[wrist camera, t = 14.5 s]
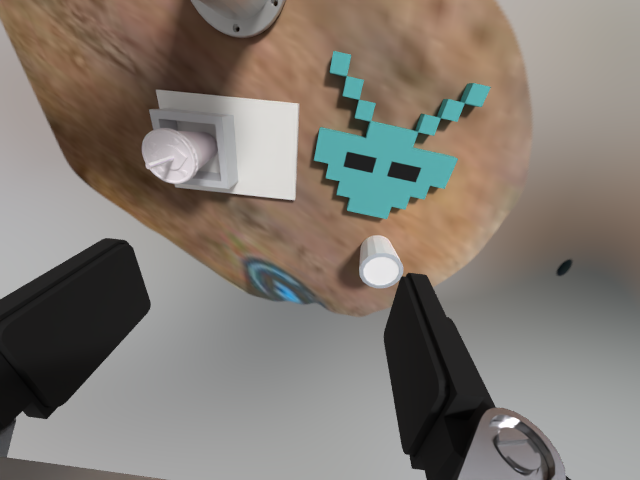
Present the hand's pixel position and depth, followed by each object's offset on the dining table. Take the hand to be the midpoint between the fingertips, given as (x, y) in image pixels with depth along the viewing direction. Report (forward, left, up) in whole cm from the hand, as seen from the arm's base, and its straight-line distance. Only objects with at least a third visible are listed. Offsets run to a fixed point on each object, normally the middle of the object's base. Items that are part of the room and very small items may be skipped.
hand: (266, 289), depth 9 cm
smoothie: (+2, -18, -32) cm, 37 cm away
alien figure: (0, +9, -34) cm, 35 cm away
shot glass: (+17, +11, -34) cm, 39 cm away
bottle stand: (+2, -14, -33) cm, 36 cm away
